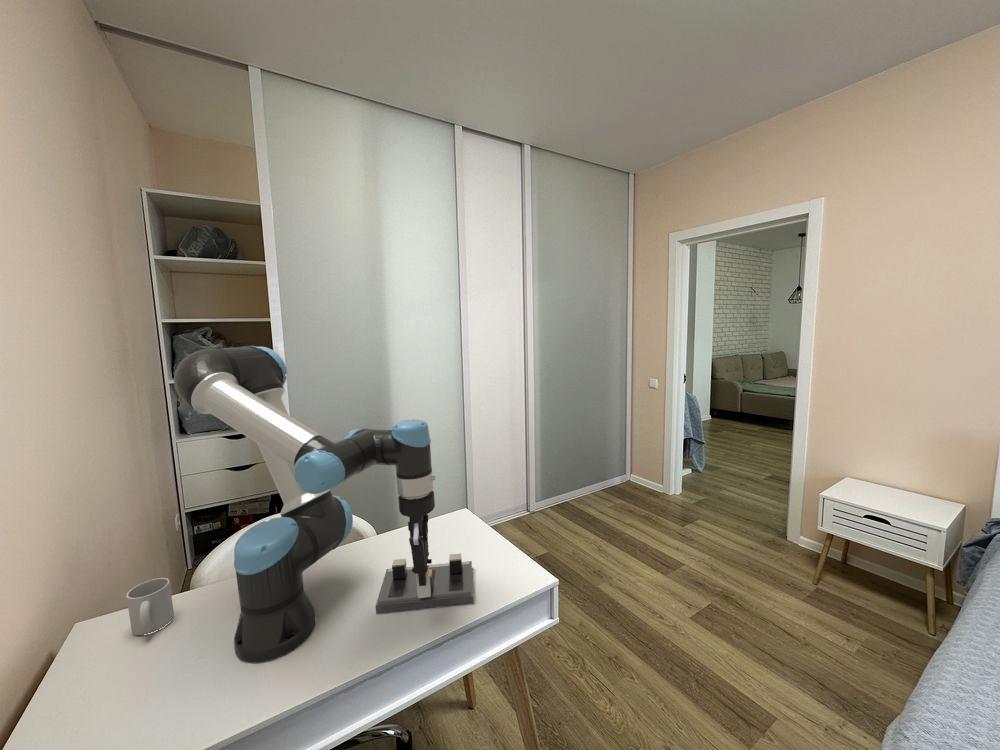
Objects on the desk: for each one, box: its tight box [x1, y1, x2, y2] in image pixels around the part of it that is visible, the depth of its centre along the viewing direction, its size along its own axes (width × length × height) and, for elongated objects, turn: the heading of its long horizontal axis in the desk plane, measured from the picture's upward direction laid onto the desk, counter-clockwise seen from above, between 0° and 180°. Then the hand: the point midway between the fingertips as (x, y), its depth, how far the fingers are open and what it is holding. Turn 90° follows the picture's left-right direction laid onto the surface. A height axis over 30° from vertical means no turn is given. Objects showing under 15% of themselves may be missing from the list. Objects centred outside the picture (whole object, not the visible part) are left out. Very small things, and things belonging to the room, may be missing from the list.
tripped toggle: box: [429, 569, 433, 590], centre depth 95 cm, size 3×2×4 cm
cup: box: [125, 577, 175, 636], centre depth 88 cm, size 7×10×9 cm
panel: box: [375, 553, 475, 615], centre depth 98 cm, size 22×14×6 cm, turn 96°
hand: (424, 595), depth 88 cm, fingers closed
